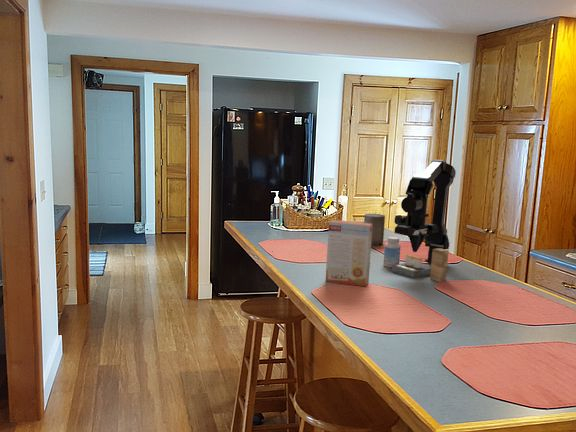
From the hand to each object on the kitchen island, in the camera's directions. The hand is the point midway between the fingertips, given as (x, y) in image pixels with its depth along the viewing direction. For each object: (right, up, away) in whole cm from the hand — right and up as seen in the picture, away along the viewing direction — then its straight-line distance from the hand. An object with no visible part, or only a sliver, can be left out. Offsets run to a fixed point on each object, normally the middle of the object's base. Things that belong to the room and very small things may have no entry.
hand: (414, 251), depth 196 cm
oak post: (+7, -10, -6) cm, 13 cm away
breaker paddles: (0, -5, +1) cm, 5 cm away
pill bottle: (-7, -6, +11) cm, 14 cm away
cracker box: (-27, -10, -16) cm, 33 cm away
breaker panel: (0, -8, +1) cm, 8 cm away
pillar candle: (-7, 0, +55) cm, 55 cm away
